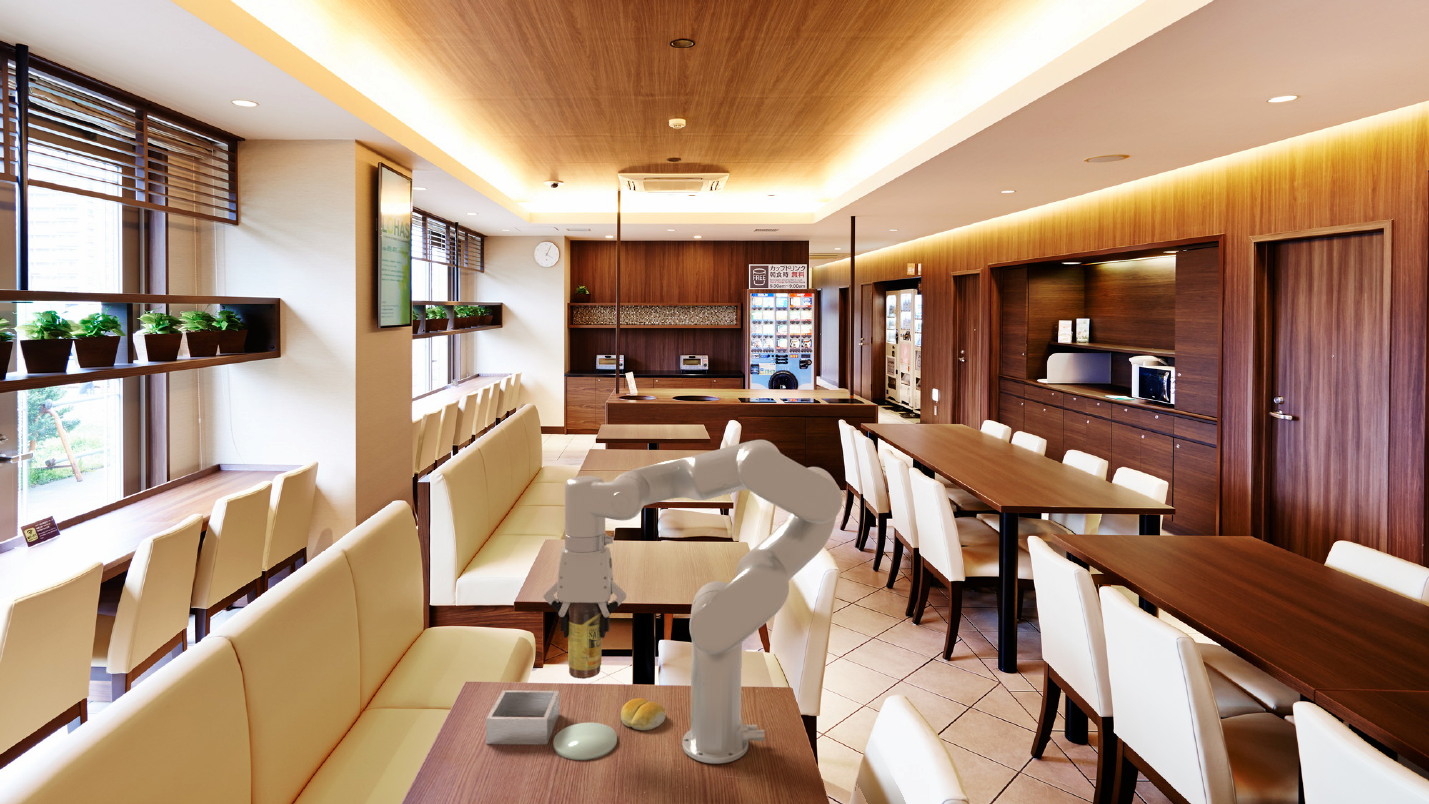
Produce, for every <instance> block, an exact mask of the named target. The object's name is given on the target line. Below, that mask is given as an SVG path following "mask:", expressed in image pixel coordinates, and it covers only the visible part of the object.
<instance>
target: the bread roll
mask: <svg viewBox="0 0 1429 804" xmlns="http://www.w3.org/2000/svg"><path fill="white" fill-rule="evenodd" d="M620 712H621V713H620V719H621V722H622V724H623V725H625V726H626V727H629V728H633V729H634V730H637V731H649V730H653V729H656V728H657V727H659V726H661V725H662V724H663V723H664V722H665V719H666V711H665V709H664V707H663V706H662V705H661V704H659V703H657V702H656V701H649V700H647V699H646V698H643V697H637V698H636V697H635V698H633V699H630V700H629V701H627V702H626V703H624V705H623V706H622V708H621V711H620Z"/></svg>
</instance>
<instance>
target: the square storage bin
mask: <svg viewBox="0 0 1429 804" xmlns="http://www.w3.org/2000/svg"><path fill="white" fill-rule="evenodd" d="M559 716H560V690H520V689H519V690H515V689H513V690H512V689H511V690H508V689H507V690H503V689H502V691H501V693H500V694H499V696H498V698H497V699H496V701H495V702H494V705H493V706H492V708H491V710H490V712H489V713H488V715H487V716H486V718H485V734H486V735H485V737H486V738H485V741H486V745H548V743H549V742H550V741H549V740H550V738H551V735H552V733H553V731H554V728H555V726H556V722H557V720H558V718H559Z"/></svg>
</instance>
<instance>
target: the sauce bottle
mask: <svg viewBox="0 0 1429 804" xmlns="http://www.w3.org/2000/svg"><path fill="white" fill-rule="evenodd" d="M568 610H569V633H568V637H567V638H568V639H567V640H568V646H567V647H568V648H567V651H568V653H567V655H568V657H567V658H568V659H567V660H568V661H567V662H568V663H567V665H568V672H569V675H570V676H571V677H573V678H575V679H583V680H585V679H590V678H594V677H596V676H598V675H599V674H600V673H601V665H602V642H603V641H602V640H603V638H601V637H600V618H601V615H602V611H601V609H600V607H599V605H598V603H582V602H579V603H570V605H569V608H568Z"/></svg>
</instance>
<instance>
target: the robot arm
mask: <svg viewBox="0 0 1429 804" xmlns="http://www.w3.org/2000/svg"><path fill="white" fill-rule="evenodd" d="M746 490H747V491H749V492H751V493H753V494H754V495H756V496H758V497H759V498H761V499H763V500H764V501H766V502H768V503H770V504H772V505H774V506H776V507H778V508H780V509H782V510H783V511H786V512H787V513H789V514H788V517H786V519H785V520H784V521H783V522H782V524H780V525H779V526H778V527H777V528H776V529H775V530H774V531H772V533H770V535H769V536H767V537H766V538H764V539H763V540H762V541H761V542H760V543H759V544H757V545H756V546H755V547H754V548H752V549H751V550H749V551H748V552H746V553H745V555H743V557H741V558H740V560H739V561H738V563H737V565H736V568H735V569H736V570H735V577H733V579H731V581H729V583H727V582H726V581H720V580H719V581H718V580H713V581H710V582H708V583H705V584H704V585H703V586H701V587H700V588H699V589H698V590H697V592H696V594H695V596H694V598H693V601H692V604H691V608H690V609H691V610H690V619H689V624H688V625H689V628H688V629H689V634H690V638H691V670H690V672H691V675H690V676H691V677H690V678H691V679H690V680H691V681H690V682H691V683H690V729H689V730H688V731H687V732H685V733H684V735H683V737H682V742H681V743H682V745H681V746H682V750H683V751H684V753H685V754H686V755H688V756H689V757H690V758H692V759H694V760H695V761H698V762H701V763H705V764H706V763H707V764H718V765H719V764H726V763H727V764H728V763H731V762H734V761H736V760H738V759H740V758H741V757H743V756H745V754H746V753H747V751H748V750H749V741H755V742H764V741H765V738H766V735H765V729H758V724H745V723H743V719H742V717H743V716H742V713H741V712H742V711H741V710H742V707H741V705H742V704H741V703H742V664H743V662H742V660H743V658H742V657H743V655H742V654H743V642H744V641H746V640H747V639H748V638H749V637H751V636H752V635H753V634H754V633H756V632H757V630H760V628H762V627H763V626H764V625H765V624H766V623H767V622H768V621H771V619H772V618H774V616H775V615H776V614H778V612H780V611H781V609H782V608H783V606H785V603H786V602H787V599H788V597H789V593H790V581H791V579H792V578H794V576H795V575H797V573H799V572H800V571H801V570H803V568H805V566H806V565H807V564H808V563H810V562H811V561H812V560H813V559H815V557H816V556H817V555H819V553H820V552H821V551H822V550H823V549H824V547H825V545H826V544H827V543H828V541H829V540H830V538H831V535H832V534H833V531H834V528H835V524H836V520H837V516H838V515H839V513H840V511H841V510H842V506H843V495H842V491H841V489H840V487H839V485H838V484H837V482H836V480H835V479H834V478H833V476H832V475H831V474H830V473H829V472H828V471H827V470H825V469H823V468H821V467H819V466H810V467H806V466H804V465H802V464H800V463H798V462H796V461H795V460H793V459H791V458H789V457H788V456H785V455H784V454H783V453H781V451H780V450H779V449H778V447H777V446H776V445H775V444H774V443H772V442H771V441H768V440H766V439H755V440H750V441H745V442H741V443H738V444H735V445H734V444H733V445H730V446H726V447H722V448H719V449H715V450H711V451H707V452H703V453H699V454H694V455H691V456H685V457H682V458H677V459H674V460H672V459H671V460H667V461H663V462H658V463H655V464H651V465H647V466H642V467H639V468H634V469H631V470H627V471H625V472H622V473H621V474H619V475H617V476H616V477H615V479H613V480H611V481H605V480H604V479H603V478H602V477H598V476H594V475H580V476H579V475H578V476H572V477H570V478H569V479H567V480H566V482H565V484H564V547H562V548H561V552H560V556H559V564H558V572H557V581H556V582H555V583H554V584H553V585H552V586H551V587H549V589H548V590H547V591H545V593H543V599H544V600H545V601H546V602H547V603H548V604H549V605H550V606H551V608H552V609H553V610H555V612H556V613H557V614H558V616H559V617H560V632H563V638H568V633H569V608H570V604H571V603H579V602H582V603H598V605H599V607H600V609H601V611H602V615H601V618H600V637H601V638H602V639H605V637H606V634H607V632H608V633H609V632H610V615H611V614H612V613H613V612H614V611H615V610H616V609H617V608H618V607H619V606H620V605H622V603H623V602H624V601H626V599H627V596H628V595H627V593H626V592H625V591H624V590H623V589H622V588H621V587H620V586H619V585H618V584H617V583H615V581H614V573H613V561H612V555H611V549H610V547H609V546H607V545H609V544H613V543H614V537H613V536H611V535H608V534H607V531H606V519H608V520H613V521H614V520H615V521H620V522H622V521H623V522H624V521H629V520H632V519H635V518H636V517H637V516H638V515H639V514H640V513H641V511H642V509H643V508H644V506H648V505H651V504H652V505H653V504H654V503H655V504H656V503H659V502H663V501H667V500H672V499H673V500H674V499H681V498H683V499H685V498H686V499H691V500H695V501H706V500H711V499H715V498H719V497H721V496H726V495H728V494H729V495H730V494H732V493H737V492H741V491H746ZM555 594H556V596H557V598H556V596H555ZM613 594H614V595H615V596H616V598H615V599H613V600H612V601H611V602H610V603H609V601H610V600H611V596H612V595H613Z"/></svg>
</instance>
